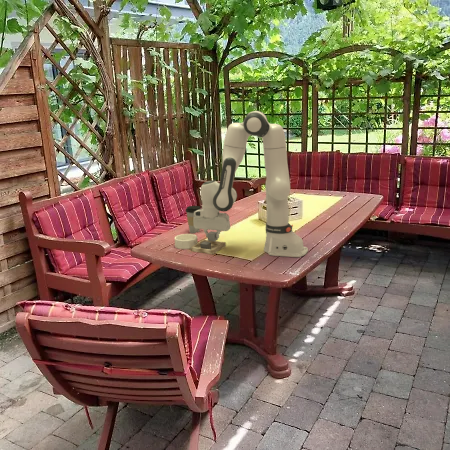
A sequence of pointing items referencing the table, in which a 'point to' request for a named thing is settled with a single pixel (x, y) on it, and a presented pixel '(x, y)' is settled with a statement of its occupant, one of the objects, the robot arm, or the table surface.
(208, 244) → the charcoal cube
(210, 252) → the parts tray
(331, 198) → the table surface
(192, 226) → the coffee cup
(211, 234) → the taupe cube
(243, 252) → the table surface
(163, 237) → the table surface
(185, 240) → the bowl
